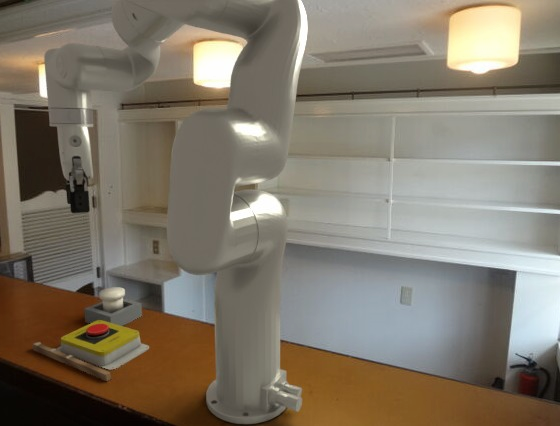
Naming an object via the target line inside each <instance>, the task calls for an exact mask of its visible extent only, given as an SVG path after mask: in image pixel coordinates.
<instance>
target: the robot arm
mask: <svg viewBox="0 0 560 426" xmlns="http://www.w3.org/2000/svg"><path fill="white" fill-rule="evenodd" d="M110 17H111V18H110V19H111V24H112V25H113V28H114V30H115V31H116V33H117V35H118V37H119V38H120V39H121V40H122V41H123V42H124V43H125V44H126V45H127V46H126V47H125V48H124V49H117V48H112V47H106V46H98V45H89V44H84V43H77V42H69V43H66V44H63V45H62V46H60V47H59V48H50V49H48V50H46V51H45V53H44V58H43V59H44V73H45V74H44V75H45V84H46V85H45V86H46V97H47V107H48V117H49V118H48V119H49V127H54V128H55V127H56V129H57V130H56V131H57V141H58V142H57V143H58V149H59V151H58V152H59V159H60V165H61V170H62V175H63V177H64V179H66V184H65V190H66V191H65V192H66V193H65V194H66V203H67V204H68V205H70V212H71V214H83V213H84V214H85V213H89V212H90V210H91V209H90V208H91V207H90V196H89V195H90V193H89V190H88V184H87V178H88V179H89V180H92V179H94V168H93V161H92V147H91V139H90V131H89V128H93V127H94V114H93V98H92V97H93V95H92V91H101V92H115V93H126V92H131V91H132V90H135V89H137V88H138V87H139V86H141V85H143V84H144V83H146V82H147V81H148V80H149V79H150V78H151V77H152V76H153V75H154V74H155V72H156V71H157V70H158V69H157V68H158V65H159V62H160V59H161V45H162V44H163V43H164V42H165V41H167V40H168V39H169V38H170V37H171V36H173V35H174V34H175V33H176V32H178V31H179V30H180V29H181V28H183V27H184V26H185V25H188V26H190V27H194V28H199V29H204V30H207V31H212V32H216V33H220V34H224V35H228V36H229V35H230V36H234V37H237V38H241V39H244V40H245V41H246V44H245V46H243V48H242V50H241V51H240V52H239V53H238V57H237V58H236V60H235V62H234V65H233V68H232V71H231V75H230V83H229V93H228V100H227V105H226V108H219V107H218V108H217V107H215V108H214V107H212V108H211V107H210V108H209V107H208V108H203V109H200V110H197V111H194V112H193V113H191V114H190V115H189V116H187V117H186V118H185V119H184V120H183V122H182V123H181V124H180V125H179V127H178V129H177V132H176V134H175V136H174V140H173V142H172V148H171V156H170V168H169V169H170V170H169V171H170V172H169V185H168V199H167V212H166V213H167V217H166V238H167V239H166V241H167V245H168V249H169V252H170V255H171V257H172V259H173V261H174V263H175V264H176V265H177V266H178V267H179V268H180V269H181V270H182V271H184V272H186V274H190V275H194V276H207V275H211V274H214V273H216V276H215V280H214V281H215V282H214V288H213V289H214V290H213V295H214V296H213V297H214V298H213V300H214V301H213V304H214V305H213V306H214V307H213V308H214V344H215V345H214V346H215V347H214V348H215V350H214V351H215V379H214V380H213V381H212V382H211V383H210V384H209V385H208V387H207V389H206V393H205V398H206V406H207V408H208V410H209V411H210V413H212V414H213V415H214V416H215V417H216V418H218V419H220V420H222V421H225V422H229V423H232V424H236V425H237V424H238V425H254V424H259V423H264V422H267V421H270V420H272V419H274V418H276V417H277V416H279V415H281V414H282V413H283V412H284V411H285V410H286V409H289V410H291V411H294V412H297V413H298V412H299V411H300V410H301V408H302V405H303V397H301V396H302V393H303V388H302V387H300V386H297V385H294V384H293V385H292V384H290V383H289V382H288V381H287V370H285V369H282V368H281V301H282V299H281V295H282V294H281V292H282V291H281V290H282V289H281V287H282V269H283V262H284V261H283V260H284V255H285V250H286V244H287V238H288V231H289V229H288V227H289V226H288V225H289V224H288V223H289V222H288V217H287V213H286V210H285V208H284V206H283V204H282V203H281V202H280V200H279V199H278V198H277V197H276V196H275V195H273V194H272V193H270V192H267V191H266V190H265V191H264V190H262V189H253V188H252V189H242V190H236V191H235V188H237V187H243V186H248V185H249V186H250V185H255V184H260V183H261V184H262V183H265V182H268V181H271V180H273V179H275V178H276V177H278V176H279V175H280V174H281V173H282V172H283V170H284V169H285V167H286V164H287V160H288V155H289V149H290V144H291V136H292V130H293V121H294V115H295V107H296V99H297V90H298V85H299V84H298V83H299V77H300V72H301V67H302V62H303V59H304V56H305V55H304V53H305V49H306V44H307V38H308V19H307V18H308V16H307V12H306V10H305V7H304V4H303V2H302V0H115V1H114V3H113V4H112V7H111V11H110Z"/></svg>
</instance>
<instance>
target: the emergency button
mask: <svg viewBox="0 0 560 426" xmlns="http://www.w3.org/2000/svg"><path fill="white" fill-rule="evenodd" d="M55 349H56V350H57V351H59V352H62V353H64V354H67V355H72V356H73V357H74V358H77V359H80V360H81V361H82V360H83V361H85V362H86V363H87V362H88V364H91V365H93V364H94V365H93V366H95V365H96V367H98V366H99V367H98V368H101V367H102V368H101V369H104V368H105V369H104V370H106V369H108V370H107V371H114V370H113V369H115V370H117V369H118V368H120V367H122V366H123V365H126V364H127V363H128V362H130V361H132V360H133V359H135V358H136V357H138V356H140V355H142V354H143V353H145V352H147V351H148V350H150V346H149V345H148V344H145V343H142V342H141V337H140V331H139V330H136V329H132V328H129V327H125V326H124V325H123V326H120V325H116V324H113V323H109V322H106V321H103V320H98V321H95V322H93V323H91V324H89V323H87V325H84V326H82V327H79V328H78V329H76V330H73V331H72V332H70V333H68V334H65V335H63V336H61V338H60V346H58V347H57V348H55ZM121 365H122V366H121ZM116 368H117V369H116Z"/></svg>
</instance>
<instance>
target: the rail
mask: <svg viewBox="0 0 560 426" xmlns="http://www.w3.org/2000/svg"><path fill="white" fill-rule="evenodd" d="M56 349H57V348H52V347H49V346H47V345H45V344H42V342H40V341H38V342H33V343H32V350H33V351H34V352H36V353H39V354H41V355H42V356H46V357H48V358H50V359H53V360H54V361H58V362H60V363H62V364H64V363H65V365H67V364H68V365H67V366H69V365H70V367H71V366H73V367H72V368H74V367H75V368H74V369H76V368H77V369H76V370H78V369H79V371H80V372H83V371H84V372H83V373H85V372H86V374H88V375H90V374H91V375H90V376H92V375H94V376H93V377H95V376H96V377H95V378H97V379H99V378H100V380H102V381H104V382H106V381H107V382H109V381H111V380H112V376H111V371H110V372H109V370H106V369H104V368H101V367H98V366H95V365H93V364H90V363H87V362H84V361H82V360H79V359H76V358H74V357H73V356H72V355H67V354H64V353H62V352H59V351H57V350H56ZM110 379H111V380H110ZM108 380H109V381H108Z"/></svg>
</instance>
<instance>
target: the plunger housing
mask: <svg viewBox="0 0 560 426" xmlns="http://www.w3.org/2000/svg"><path fill="white" fill-rule="evenodd" d="M142 309H143V306H142V303H141V302H138V301H134V300H131V299H128V298H124V297H123V309H121V310H118V311H116V312H111V313H109V312H105V311H103V300H101V301H100V302H98V303H95V304H92V305H89V306H87V307H84V320H85V321H84V322H85V323H87V324H89V323H90V324H91V323H93V322H95V321H98V320H103V321H106V322H109V323H113V324H116V325H120V326H123V327H124V326H125V325H127V324H129V323H131V322H133V320H134V321H136V320H138V319H140V318H142V317H143V310H142ZM141 316H142V317H141ZM139 317H140V318H139ZM137 318H138V319H137ZM135 319H136V320H135Z"/></svg>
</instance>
